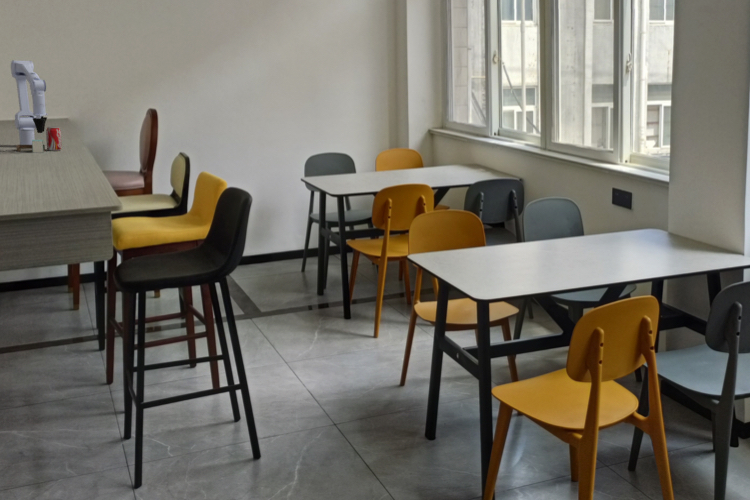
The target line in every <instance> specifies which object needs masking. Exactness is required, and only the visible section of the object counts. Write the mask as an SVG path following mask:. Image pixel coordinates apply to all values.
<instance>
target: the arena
mask: <svg viewBox="0 0 750 500" xmlns="http://www.w3.org/2000/svg"><path fill="white" fill-rule="evenodd" d="M45 146H46V145H45V144H43V152H45V151H46V148H45ZM15 147H16V152H33V151H32V145H19V144H16V146H15Z"/></svg>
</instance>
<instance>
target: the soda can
mask: <svg viewBox="0 0 750 500" xmlns="http://www.w3.org/2000/svg"><path fill="white" fill-rule="evenodd" d="M45 137H46V138H45V139H46V147H47V150H48V151H50V152H59V151H61V150H62V148H63V147H62V132H61V128H60V126H55V125H54V126H47V127H46V129H45Z"/></svg>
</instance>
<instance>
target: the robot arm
mask: <svg viewBox="0 0 750 500" xmlns="http://www.w3.org/2000/svg"><path fill="white" fill-rule="evenodd" d="M34 67H35V65H34V62H33V61H32V60H15V59H12V60H11V61H10V71H11V76H12V78H14V79H15V82H16V90H17V97H18V105H19V111H17V112H16V113H15V114H14V126H15V128H16V129H17V130H18V136H19V144H18V145H32V140H36V138H35V130H36V133H37V134H43V133H44V132H45V130H46V129H45V127H46V122H47V119H48V116H49V113H46V111H47V110H46V94H45V92H46V90H47V84H46V81H45V79H41V78H40V76H39V74H38V73H36V71H34V70H35V68H34ZM27 82H28V84H29V90H30V95H31V97H32V98H31V99H32V111H31V108H30V100H29V93H28V85H27Z"/></svg>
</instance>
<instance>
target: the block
mask: <svg viewBox="0 0 750 500" xmlns="http://www.w3.org/2000/svg"><path fill="white" fill-rule="evenodd" d="M43 145H44V140H43V139H35V140H32V151H31V152H32V153H33V154H35V153H37V154H43V153H44V152H45V151H43Z"/></svg>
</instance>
